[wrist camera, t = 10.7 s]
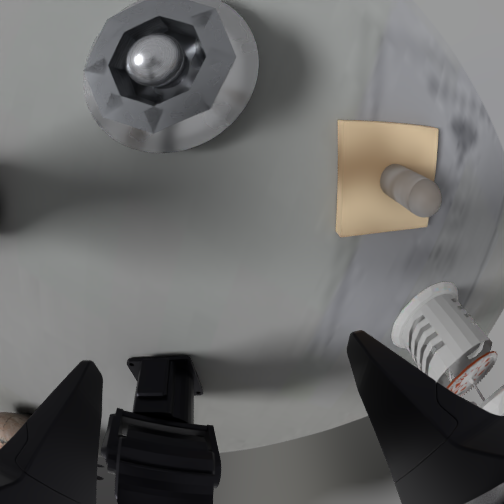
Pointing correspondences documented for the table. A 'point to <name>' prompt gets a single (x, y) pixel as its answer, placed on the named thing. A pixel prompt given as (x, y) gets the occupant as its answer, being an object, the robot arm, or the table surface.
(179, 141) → the disc
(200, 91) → the collar
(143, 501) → the robot arm
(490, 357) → the french press
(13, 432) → the cooking pot
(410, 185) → the stand
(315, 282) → the table surface
